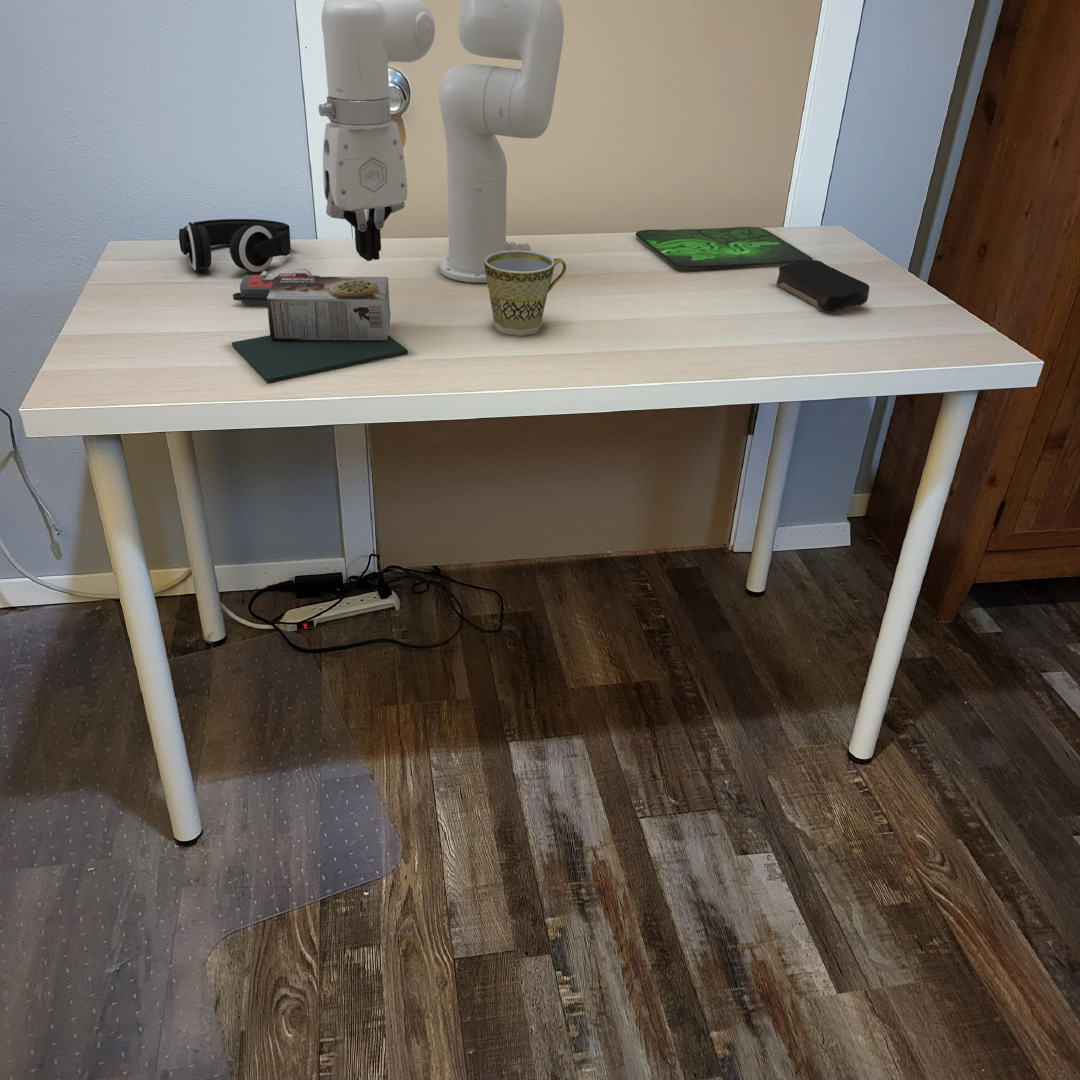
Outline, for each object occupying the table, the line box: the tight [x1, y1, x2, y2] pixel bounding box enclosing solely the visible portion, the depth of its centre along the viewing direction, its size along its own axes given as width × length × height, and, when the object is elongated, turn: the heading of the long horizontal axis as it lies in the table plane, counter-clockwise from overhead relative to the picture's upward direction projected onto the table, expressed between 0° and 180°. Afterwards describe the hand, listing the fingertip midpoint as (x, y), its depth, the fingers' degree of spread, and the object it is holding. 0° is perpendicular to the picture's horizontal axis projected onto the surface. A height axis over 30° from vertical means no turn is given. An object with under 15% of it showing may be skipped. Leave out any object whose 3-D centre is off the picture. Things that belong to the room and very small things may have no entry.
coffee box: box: [267, 276, 392, 341], centre depth 138 cm, size 9×6×16 cm
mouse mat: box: [635, 226, 814, 269], centre depth 179 cm, size 27×22×1 cm
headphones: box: [178, 218, 292, 274], centre depth 164 cm, size 18×8×20 cm
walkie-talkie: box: [232, 268, 321, 307], centre depth 149 cm, size 9×4×20 cm
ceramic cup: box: [484, 250, 567, 337], centre depth 142 cm, size 13×10×10 cm
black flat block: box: [776, 259, 871, 313], centre depth 159 cm, size 16×8×4 cm, turn 22°
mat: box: [231, 334, 409, 384], centre depth 135 cm, size 20×14×1 cm
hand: (369, 257), depth 132 cm, fingers closed
